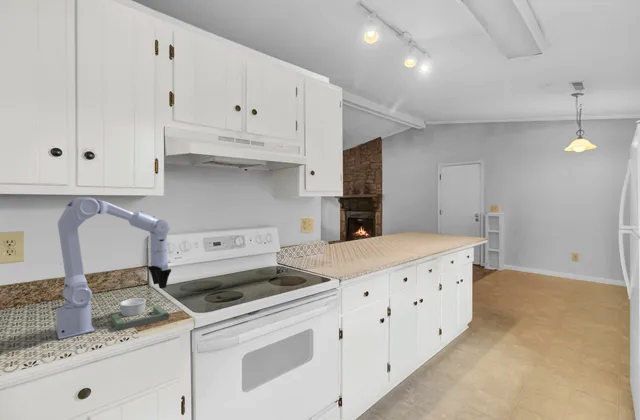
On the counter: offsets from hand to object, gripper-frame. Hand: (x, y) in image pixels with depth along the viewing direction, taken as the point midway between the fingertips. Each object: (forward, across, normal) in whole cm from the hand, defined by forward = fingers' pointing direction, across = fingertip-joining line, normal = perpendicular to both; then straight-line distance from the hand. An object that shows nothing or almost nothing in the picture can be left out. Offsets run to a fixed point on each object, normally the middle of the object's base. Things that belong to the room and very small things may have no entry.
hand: (159, 285), depth 132 cm
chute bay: (+10, -5, +8) cm, 14 cm away
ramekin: (+10, +5, +8) cm, 14 cm away
